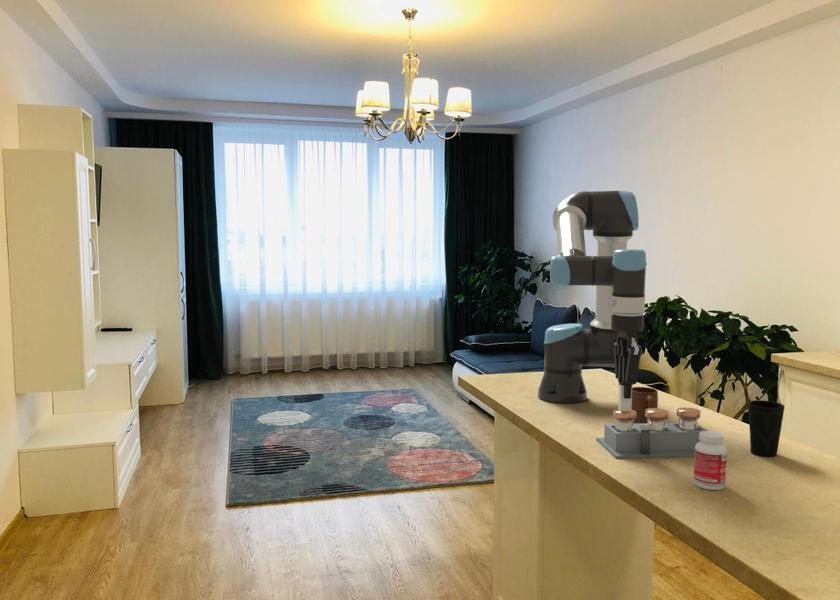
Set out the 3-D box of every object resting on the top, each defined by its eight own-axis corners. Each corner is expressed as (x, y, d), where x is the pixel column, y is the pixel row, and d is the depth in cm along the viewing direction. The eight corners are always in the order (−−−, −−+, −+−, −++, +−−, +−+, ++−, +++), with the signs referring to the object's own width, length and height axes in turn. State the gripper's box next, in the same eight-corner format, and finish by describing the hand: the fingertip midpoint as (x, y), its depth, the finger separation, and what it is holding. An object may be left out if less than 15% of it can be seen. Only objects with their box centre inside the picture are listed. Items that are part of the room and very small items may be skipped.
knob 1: (609, 441, 171) (610, 408, 170) (630, 441, 171) (631, 408, 170) (616, 448, 165) (617, 414, 164) (638, 448, 166) (639, 414, 165)
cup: (738, 450, 166) (741, 402, 165) (761, 446, 169) (764, 399, 168) (765, 460, 159) (768, 409, 158) (789, 456, 162) (792, 406, 161)
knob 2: (671, 440, 172) (673, 407, 171) (692, 440, 172) (694, 407, 171) (681, 447, 166) (682, 413, 165) (703, 446, 167) (704, 413, 166)
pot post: (637, 451, 164) (638, 423, 163) (648, 451, 164) (649, 423, 163) (641, 455, 161) (642, 427, 160) (652, 455, 161) (653, 426, 161)
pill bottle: (725, 492, 140) (728, 439, 139) (693, 488, 142) (695, 436, 141) (724, 482, 146) (726, 431, 145) (693, 478, 148) (695, 428, 147)
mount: (596, 440, 175) (596, 420, 174) (691, 438, 177) (692, 419, 176) (615, 458, 161) (616, 437, 160) (719, 455, 163) (720, 435, 162)
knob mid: (640, 441, 171) (641, 408, 170) (661, 440, 172) (662, 407, 171) (649, 448, 166) (650, 414, 165) (671, 447, 166) (672, 413, 165)
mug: (666, 432, 182) (667, 397, 181) (637, 431, 182) (638, 397, 181) (651, 419, 194) (652, 386, 193) (624, 419, 194) (625, 386, 193)
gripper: (603, 310, 171) (600, 404, 173) (622, 317, 158) (619, 418, 160) (632, 310, 171) (629, 403, 174) (654, 317, 159) (650, 417, 161)
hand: (624, 410), depth 167 cm, fingers closed
